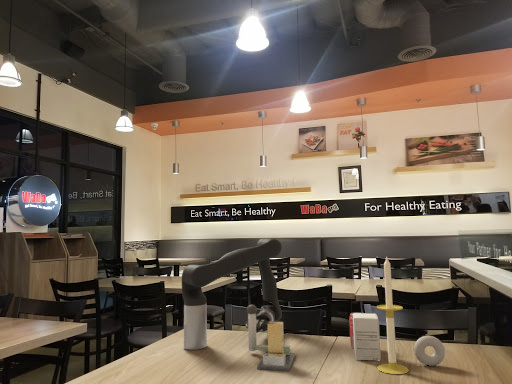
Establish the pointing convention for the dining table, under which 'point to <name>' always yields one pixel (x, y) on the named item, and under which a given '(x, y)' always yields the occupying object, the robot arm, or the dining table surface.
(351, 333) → the soda can
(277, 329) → the brass block
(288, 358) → the base
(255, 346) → the sliding jaw
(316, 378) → the dining table surface
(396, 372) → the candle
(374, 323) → the supplement box
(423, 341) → the donut
